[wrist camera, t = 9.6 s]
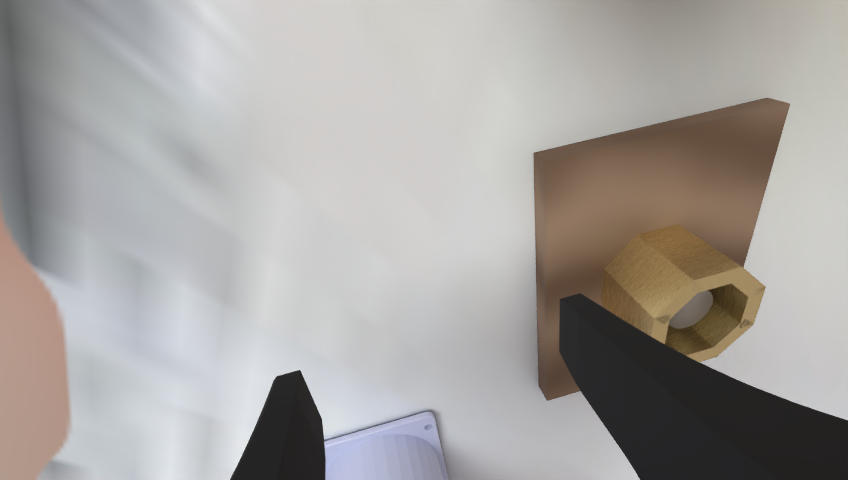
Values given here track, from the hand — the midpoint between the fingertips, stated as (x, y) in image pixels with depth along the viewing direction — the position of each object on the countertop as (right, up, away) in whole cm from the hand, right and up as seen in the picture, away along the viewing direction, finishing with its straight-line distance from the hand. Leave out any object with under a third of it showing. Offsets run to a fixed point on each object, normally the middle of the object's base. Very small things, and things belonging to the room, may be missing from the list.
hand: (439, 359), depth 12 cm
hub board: (+12, +2, +13) cm, 18 cm away
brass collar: (+12, +1, +12) cm, 17 cm away
